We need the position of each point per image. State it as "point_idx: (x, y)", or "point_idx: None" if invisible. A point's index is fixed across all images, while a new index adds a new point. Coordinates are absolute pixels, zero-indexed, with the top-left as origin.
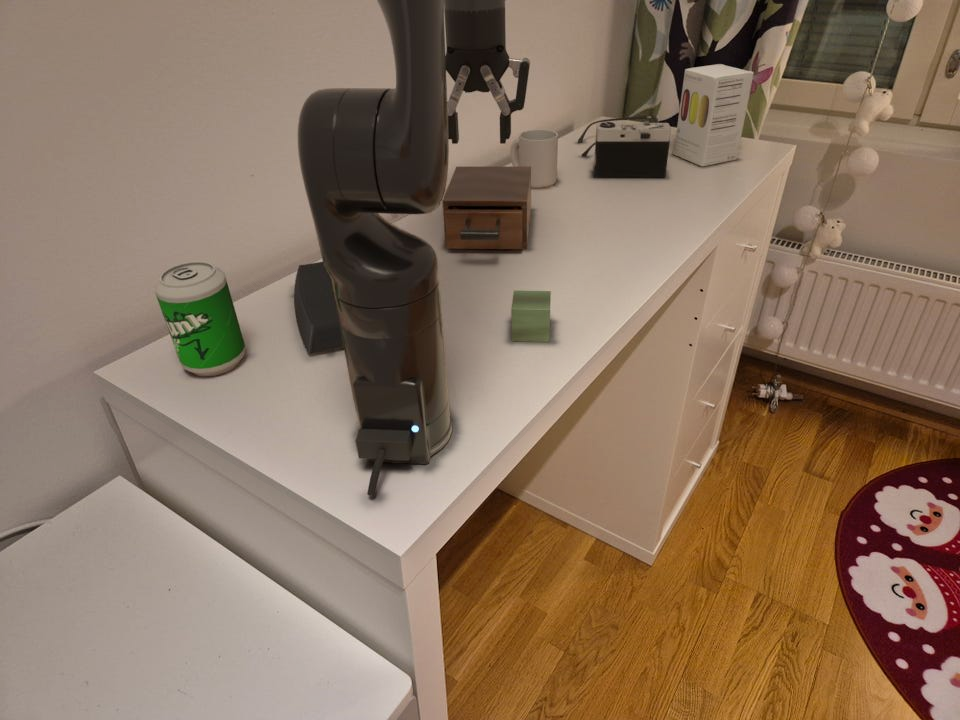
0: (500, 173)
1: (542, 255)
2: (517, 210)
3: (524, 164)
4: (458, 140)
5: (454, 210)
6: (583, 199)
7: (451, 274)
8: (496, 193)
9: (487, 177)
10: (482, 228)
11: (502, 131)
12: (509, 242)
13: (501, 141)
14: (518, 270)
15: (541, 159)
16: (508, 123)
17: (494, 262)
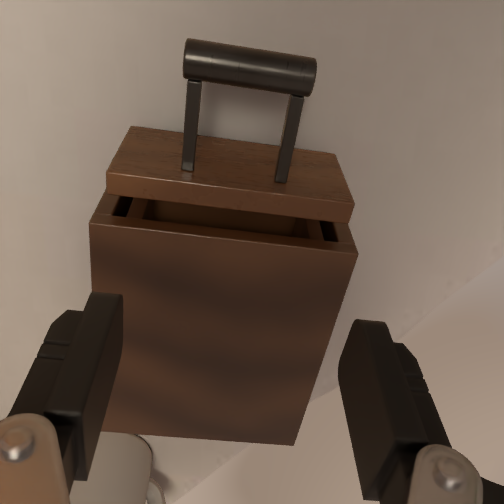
0: (179, 402)
1: (78, 112)
2: (122, 190)
3: (133, 481)
4: (341, 357)
5: (323, 212)
6: (7, 379)
7: (334, 20)
8: (189, 285)
9: (214, 383)
10: (238, 165)
11: (90, 334)
12: (163, 137)
13: (111, 296)
14: (141, 23)
15: (90, 486)
16: (38, 378)
17: (209, 84)
